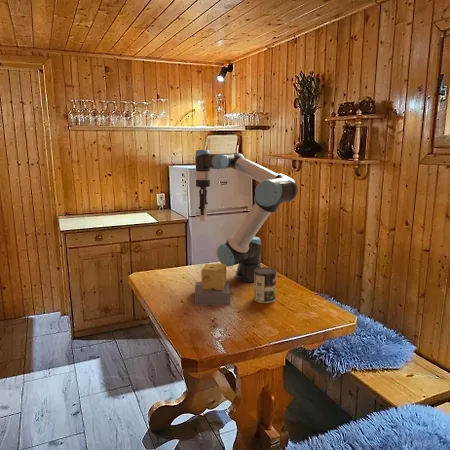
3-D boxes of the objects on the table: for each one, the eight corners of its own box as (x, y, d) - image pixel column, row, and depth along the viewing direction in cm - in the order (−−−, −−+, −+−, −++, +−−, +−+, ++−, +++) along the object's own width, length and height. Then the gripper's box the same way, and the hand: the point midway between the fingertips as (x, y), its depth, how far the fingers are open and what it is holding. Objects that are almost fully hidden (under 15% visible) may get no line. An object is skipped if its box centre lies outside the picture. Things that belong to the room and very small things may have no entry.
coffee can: (276, 295, 195) (277, 267, 192) (274, 304, 185) (275, 274, 182) (255, 294, 197) (255, 266, 194) (252, 302, 187) (252, 273, 184)
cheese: (223, 291, 186) (223, 270, 184) (200, 289, 188) (199, 269, 186) (226, 283, 196) (226, 263, 194) (204, 282, 198) (204, 262, 196)
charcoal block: (228, 292, 201) (228, 281, 200) (230, 305, 185) (230, 293, 184) (195, 293, 200) (195, 281, 199) (195, 306, 184) (194, 293, 183)
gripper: (197, 177, 227) (198, 214, 232) (193, 181, 203) (194, 223, 207) (211, 177, 227) (211, 214, 232) (208, 181, 203) (209, 223, 207)
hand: (203, 218), depth 220 cm, fingers open, 13 cm apart
